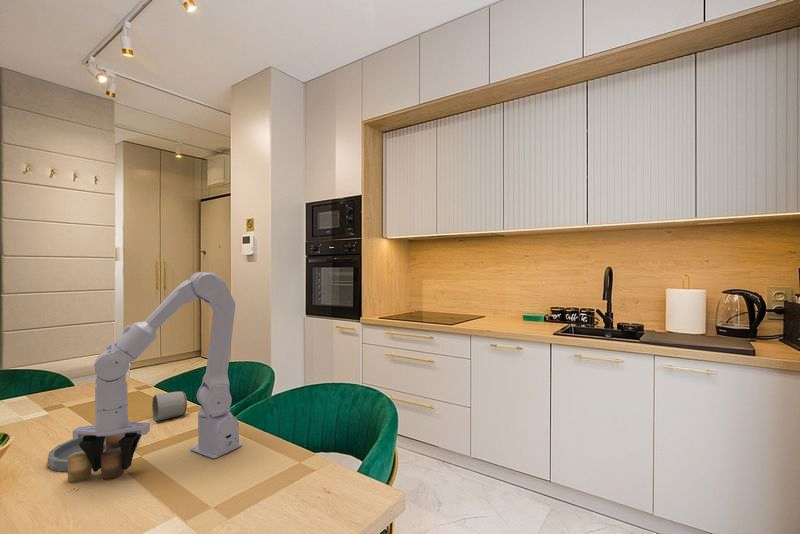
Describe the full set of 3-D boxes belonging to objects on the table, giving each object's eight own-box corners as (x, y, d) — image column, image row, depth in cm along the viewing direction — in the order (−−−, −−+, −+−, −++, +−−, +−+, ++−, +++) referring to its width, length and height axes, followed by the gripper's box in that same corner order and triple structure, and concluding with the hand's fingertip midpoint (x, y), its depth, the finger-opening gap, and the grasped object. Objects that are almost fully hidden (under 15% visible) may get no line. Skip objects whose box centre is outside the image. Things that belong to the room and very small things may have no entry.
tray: (151, 447, 99) (150, 438, 99) (68, 479, 84) (68, 468, 84) (116, 433, 108) (116, 425, 108) (35, 460, 93) (35, 450, 93)
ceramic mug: (188, 416, 119) (188, 391, 120) (157, 424, 114) (157, 397, 114) (178, 408, 127) (177, 384, 127) (148, 415, 121) (148, 390, 121)
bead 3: (127, 473, 87) (127, 450, 87) (106, 482, 83) (106, 458, 83) (118, 468, 89) (117, 446, 89) (97, 477, 85) (97, 454, 85)
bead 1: (95, 475, 86) (95, 452, 86) (72, 484, 82) (72, 460, 82) (86, 471, 88) (86, 448, 88) (64, 479, 84) (63, 456, 84)
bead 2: (129, 445, 98) (129, 425, 98) (117, 453, 94) (117, 432, 94) (114, 445, 99) (114, 425, 99) (101, 453, 95) (101, 432, 95)
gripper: (156, 398, 91) (156, 457, 91) (87, 401, 89) (88, 461, 89) (140, 409, 84) (140, 473, 84) (65, 413, 82) (65, 478, 82)
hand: (112, 468), depth 86 cm, fingers open, 5 cm apart
